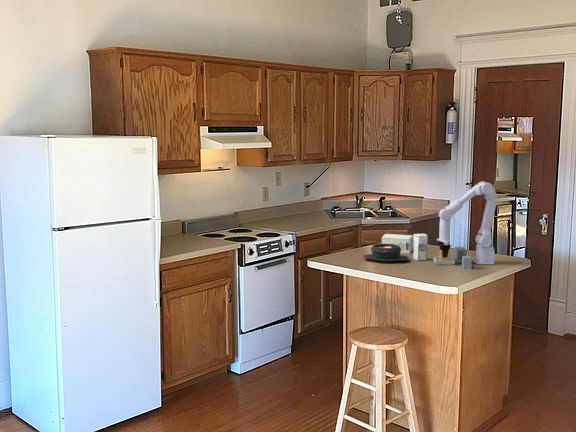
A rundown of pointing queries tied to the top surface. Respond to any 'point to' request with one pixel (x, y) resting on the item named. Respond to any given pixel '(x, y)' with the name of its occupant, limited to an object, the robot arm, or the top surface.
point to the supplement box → (399, 241)
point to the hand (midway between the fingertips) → (443, 255)
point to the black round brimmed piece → (386, 253)
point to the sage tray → (437, 262)
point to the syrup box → (420, 247)
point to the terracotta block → (442, 257)
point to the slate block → (466, 262)
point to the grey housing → (459, 254)
